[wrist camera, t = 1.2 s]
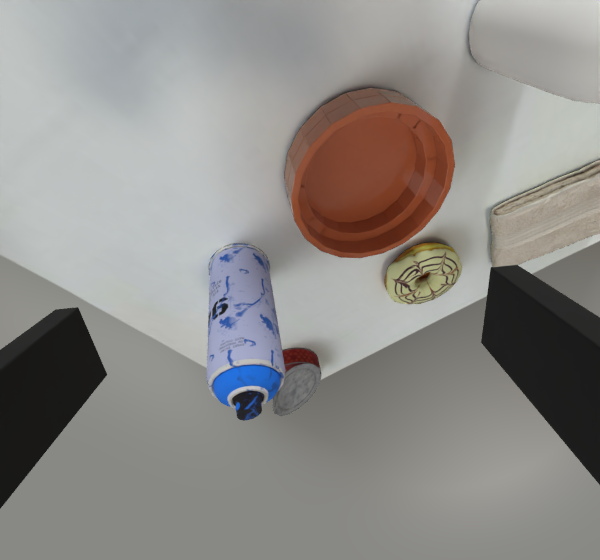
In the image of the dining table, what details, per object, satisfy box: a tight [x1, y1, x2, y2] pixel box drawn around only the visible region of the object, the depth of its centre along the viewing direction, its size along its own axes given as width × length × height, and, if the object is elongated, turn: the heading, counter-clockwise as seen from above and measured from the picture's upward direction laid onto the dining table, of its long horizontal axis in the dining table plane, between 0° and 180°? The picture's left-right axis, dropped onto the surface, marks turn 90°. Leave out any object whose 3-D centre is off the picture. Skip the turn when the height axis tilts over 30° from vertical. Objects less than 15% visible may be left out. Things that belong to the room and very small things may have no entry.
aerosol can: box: [207, 244, 285, 420], centre depth 37 cm, size 8×8×20 cm
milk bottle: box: [469, 0, 600, 103], centre depth 23 cm, size 8×8×20 cm
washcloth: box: [490, 160, 600, 267], centre depth 46 cm, size 12×18×3 cm, turn 114°
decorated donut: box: [385, 243, 462, 304], centre depth 48 cm, size 10×11×4 cm
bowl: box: [284, 88, 455, 258], centre depth 36 cm, size 16×16×6 cm
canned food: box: [273, 348, 321, 416], centre depth 59 cm, size 11×10×10 cm
